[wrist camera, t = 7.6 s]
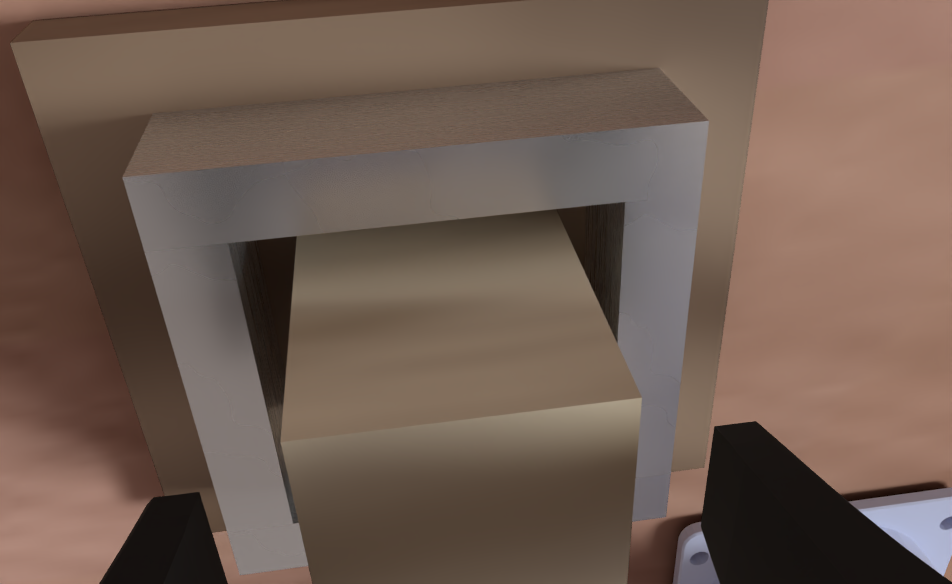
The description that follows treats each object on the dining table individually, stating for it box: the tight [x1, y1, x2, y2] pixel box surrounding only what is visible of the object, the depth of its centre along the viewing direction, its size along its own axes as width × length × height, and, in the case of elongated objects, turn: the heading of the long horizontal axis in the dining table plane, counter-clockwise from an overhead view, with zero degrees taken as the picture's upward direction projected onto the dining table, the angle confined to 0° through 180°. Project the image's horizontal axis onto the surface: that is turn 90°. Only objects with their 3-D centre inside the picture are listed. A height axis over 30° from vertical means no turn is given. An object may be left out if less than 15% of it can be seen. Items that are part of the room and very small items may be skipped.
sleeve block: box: [281, 209, 642, 584], centre depth 14 cm, size 4×4×6 cm
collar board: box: [10, 0, 769, 575], centre depth 16 cm, size 11×12×4 cm
